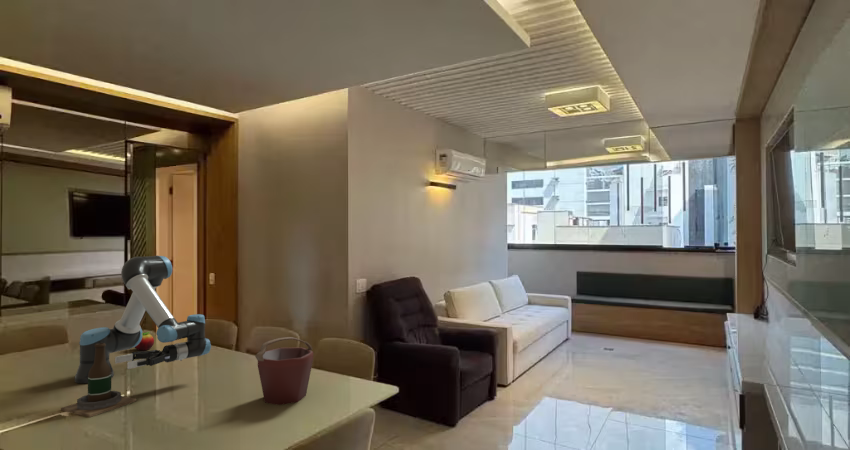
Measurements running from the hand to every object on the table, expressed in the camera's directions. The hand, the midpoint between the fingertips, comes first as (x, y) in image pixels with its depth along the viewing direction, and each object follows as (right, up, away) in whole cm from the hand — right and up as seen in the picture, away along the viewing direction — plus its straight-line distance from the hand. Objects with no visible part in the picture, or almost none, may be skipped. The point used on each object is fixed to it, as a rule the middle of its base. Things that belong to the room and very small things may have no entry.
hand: (121, 362), depth 191 cm
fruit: (-43, -18, +86) cm, 98 cm away
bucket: (+67, -16, +3) cm, 69 cm away
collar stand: (-5, -15, -6) cm, 17 cm away
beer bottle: (-5, -15, -6) cm, 17 cm away
